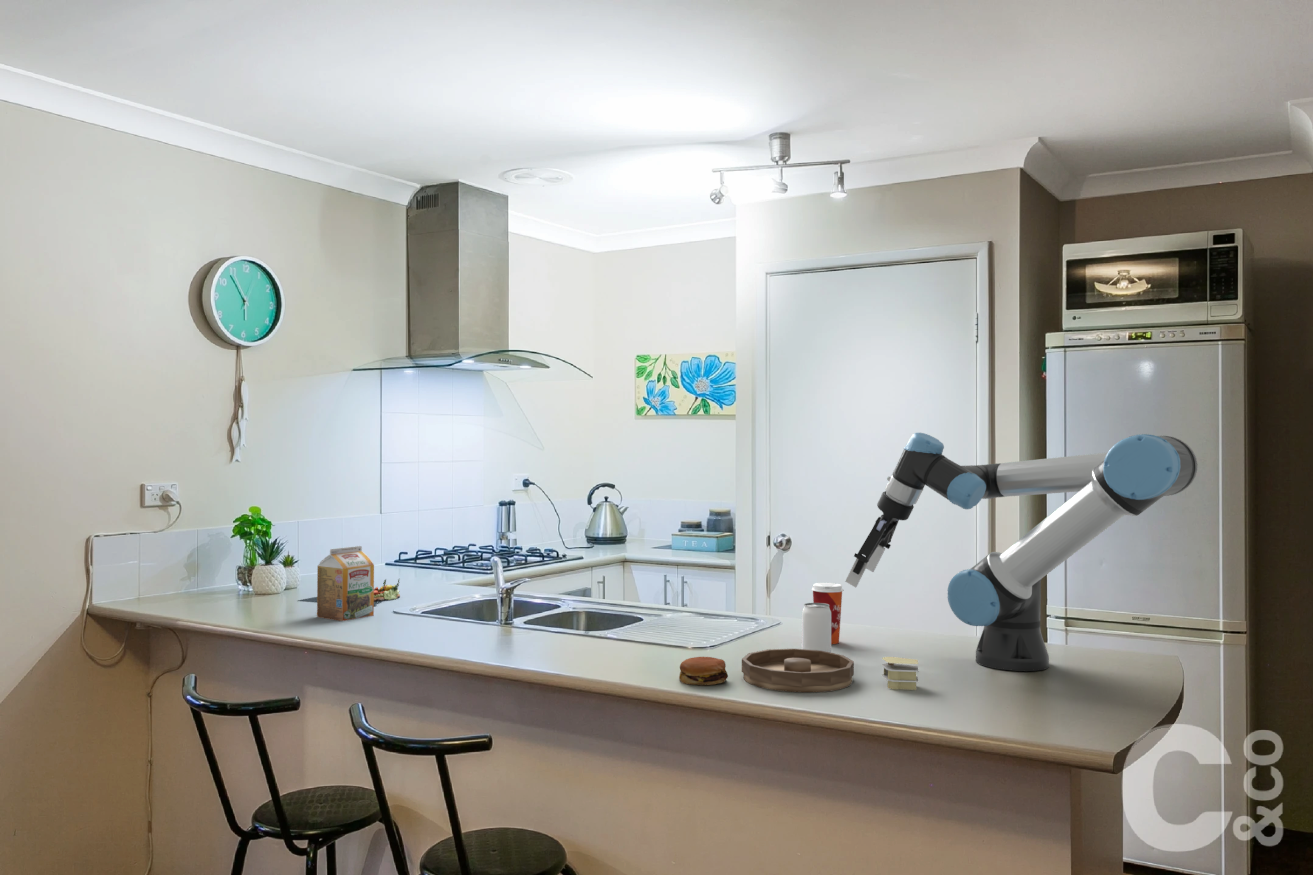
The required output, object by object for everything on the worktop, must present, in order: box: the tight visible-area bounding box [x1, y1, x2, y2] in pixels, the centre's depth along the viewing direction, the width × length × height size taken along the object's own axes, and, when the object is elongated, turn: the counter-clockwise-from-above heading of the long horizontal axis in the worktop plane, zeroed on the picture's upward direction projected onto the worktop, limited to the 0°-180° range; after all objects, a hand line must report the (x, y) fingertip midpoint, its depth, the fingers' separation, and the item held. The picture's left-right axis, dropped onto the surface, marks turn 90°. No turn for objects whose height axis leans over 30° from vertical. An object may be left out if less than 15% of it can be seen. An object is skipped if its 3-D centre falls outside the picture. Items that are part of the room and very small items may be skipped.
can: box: [801, 602, 832, 653], centre depth 216 cm, size 6×6×12 cm
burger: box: [678, 656, 729, 686], centre depth 195 cm, size 10×9×5 cm
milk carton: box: [316, 545, 375, 622], centre depth 266 cm, size 11×11×19 cm
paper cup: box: [811, 582, 844, 645], centre depth 234 cm, size 8×8×14 cm
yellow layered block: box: [881, 656, 919, 691], centre depth 191 cm, size 10×9×6 cm
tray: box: [741, 648, 855, 693], centre depth 197 cm, size 22×22×4 cm
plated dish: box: [297, 578, 401, 607], centre depth 297 cm, size 35×28×7 cm
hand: (859, 576), depth 224 cm, fingers open, 13 cm apart
